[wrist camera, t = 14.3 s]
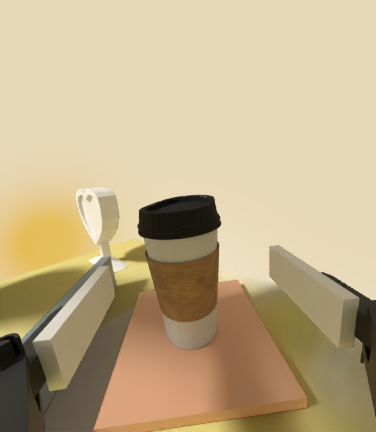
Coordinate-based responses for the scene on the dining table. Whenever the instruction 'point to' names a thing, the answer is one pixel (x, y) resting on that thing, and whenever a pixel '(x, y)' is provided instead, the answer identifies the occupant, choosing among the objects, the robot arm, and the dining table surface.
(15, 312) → the dining table surface
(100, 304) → the robot arm
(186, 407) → the terracotta tile
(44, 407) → the gray rectangular board
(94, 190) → the heart sculpture
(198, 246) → the coffee cup
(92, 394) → the dining table surface
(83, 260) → the dining table surface
